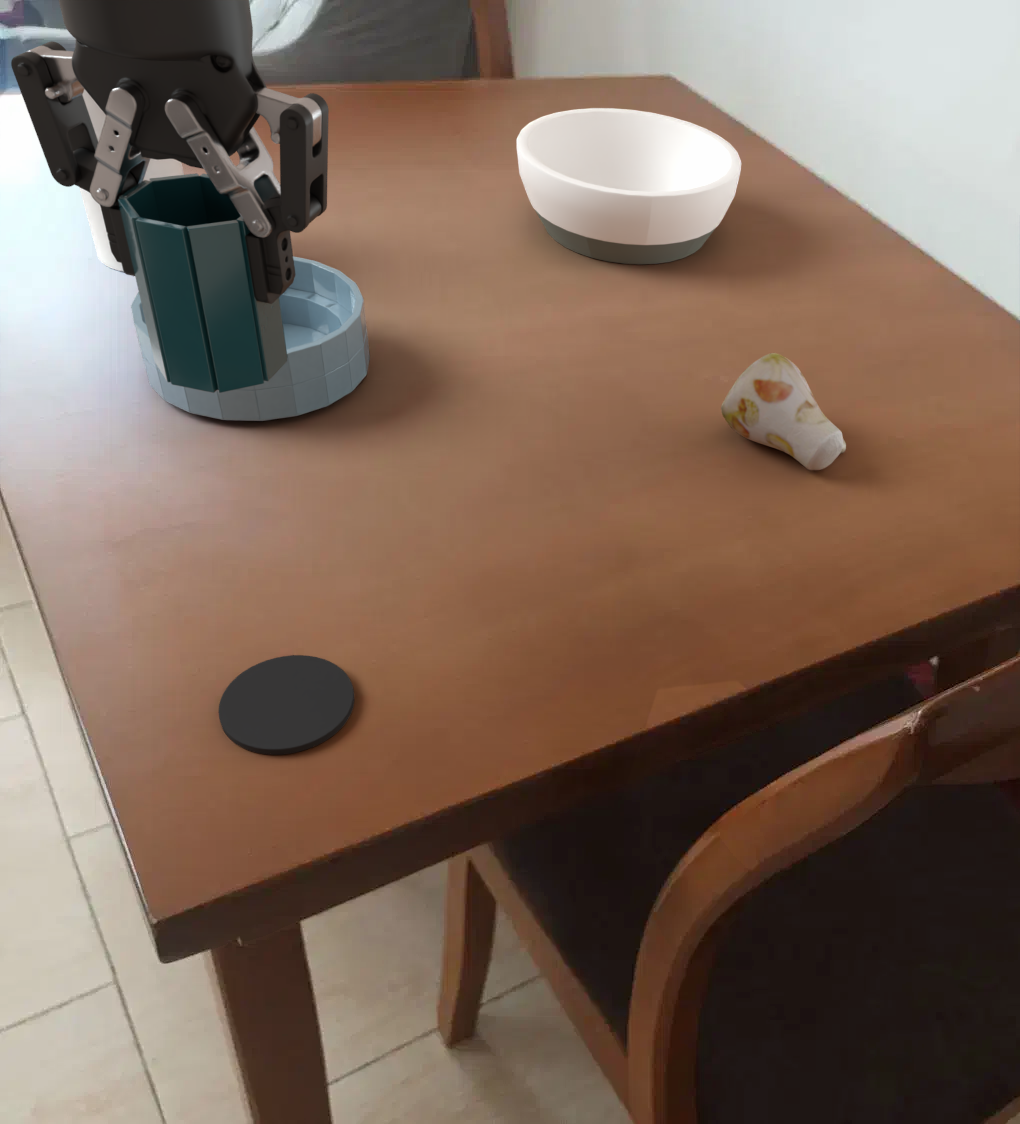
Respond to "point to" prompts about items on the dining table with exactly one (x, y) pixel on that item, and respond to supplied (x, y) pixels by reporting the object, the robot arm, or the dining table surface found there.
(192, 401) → the glazed bowl
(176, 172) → the cup
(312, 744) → the coaster
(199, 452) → the dining table surface
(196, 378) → the teal cup
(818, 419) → the white pear shape
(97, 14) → the robot arm
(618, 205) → the bowl
